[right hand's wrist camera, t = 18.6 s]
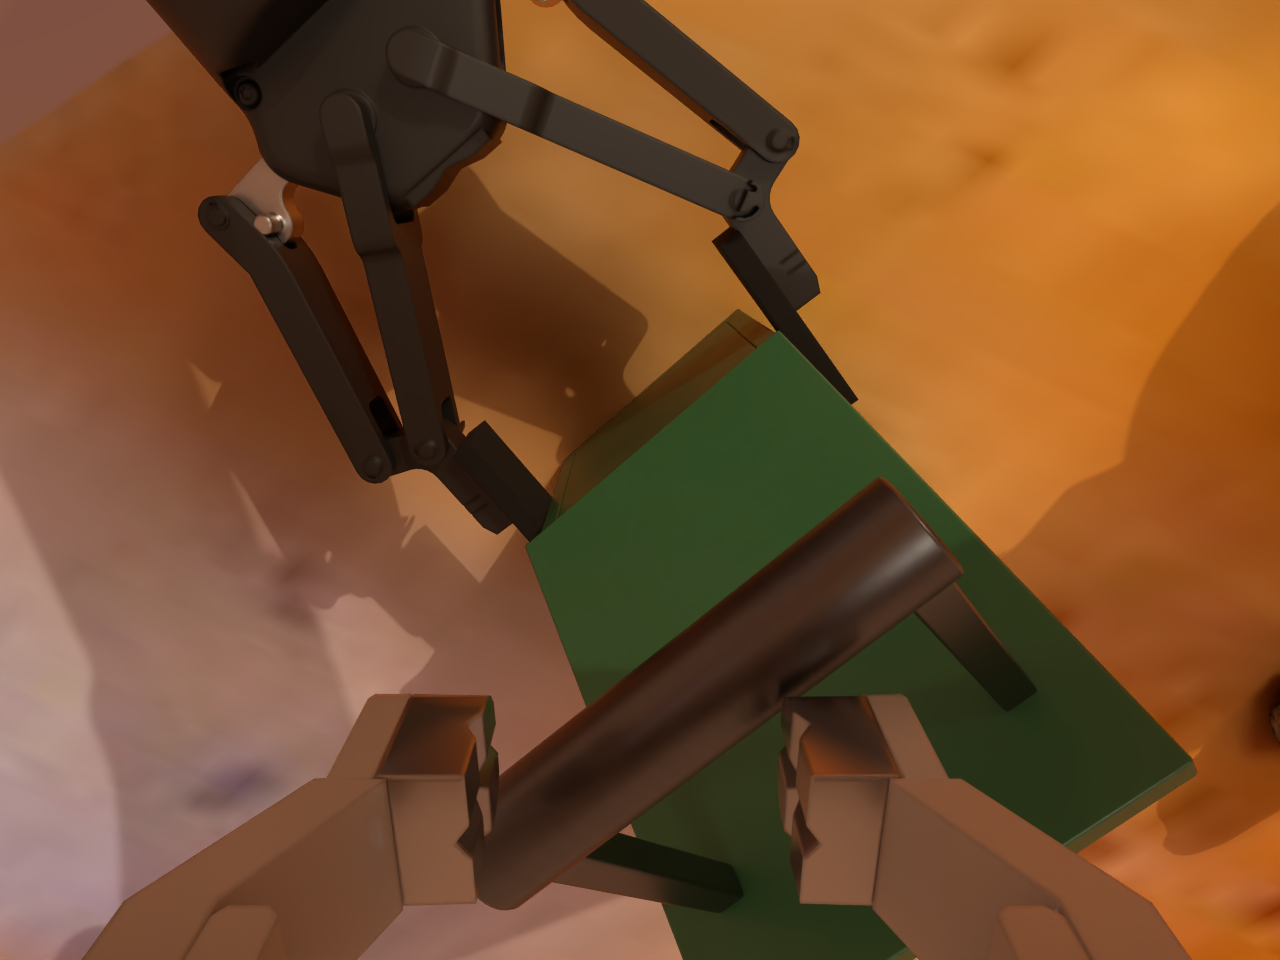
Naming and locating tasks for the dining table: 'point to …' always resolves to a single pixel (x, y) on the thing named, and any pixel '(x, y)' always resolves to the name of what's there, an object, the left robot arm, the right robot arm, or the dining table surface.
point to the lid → (788, 669)
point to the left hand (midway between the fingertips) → (709, 488)
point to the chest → (655, 408)
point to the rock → (1276, 720)
